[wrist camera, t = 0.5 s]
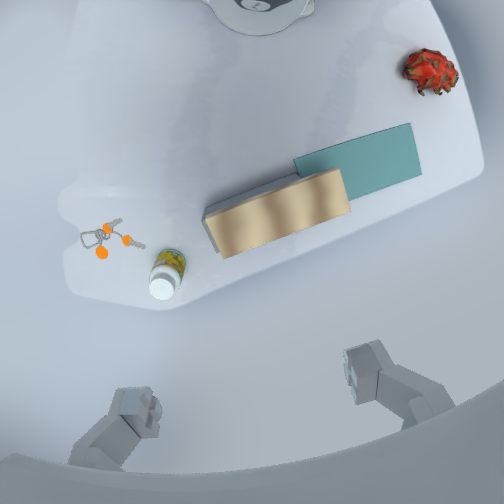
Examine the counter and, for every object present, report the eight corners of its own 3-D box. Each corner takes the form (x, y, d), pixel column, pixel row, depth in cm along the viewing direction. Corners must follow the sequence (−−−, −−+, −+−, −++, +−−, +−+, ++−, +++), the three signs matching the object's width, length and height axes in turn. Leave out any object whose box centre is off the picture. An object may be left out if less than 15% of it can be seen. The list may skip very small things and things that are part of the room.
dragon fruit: (442, 79, 43) (390, 77, 45) (448, 44, 36) (392, 38, 38) (463, 104, 39) (407, 102, 41) (472, 66, 32) (413, 59, 34)
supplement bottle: (152, 255, 54) (138, 282, 45) (176, 243, 53) (166, 268, 44) (167, 279, 56) (156, 308, 47) (191, 268, 55) (184, 296, 47)
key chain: (91, 262, 54) (89, 264, 53) (77, 228, 51) (75, 230, 50) (147, 249, 54) (146, 251, 53) (135, 212, 51) (133, 213, 50)
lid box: (295, 172, 49) (304, 181, 43) (305, 203, 51) (315, 215, 45) (205, 207, 51) (201, 220, 44) (218, 236, 53) (216, 253, 47)
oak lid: (333, 166, 43) (339, 169, 40) (345, 206, 46) (351, 211, 43) (206, 213, 45) (205, 219, 42) (224, 251, 48) (223, 259, 45)
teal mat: (409, 123, 46) (410, 123, 46) (420, 174, 50) (421, 174, 50) (293, 159, 48) (294, 159, 48) (312, 213, 52) (312, 214, 52)
